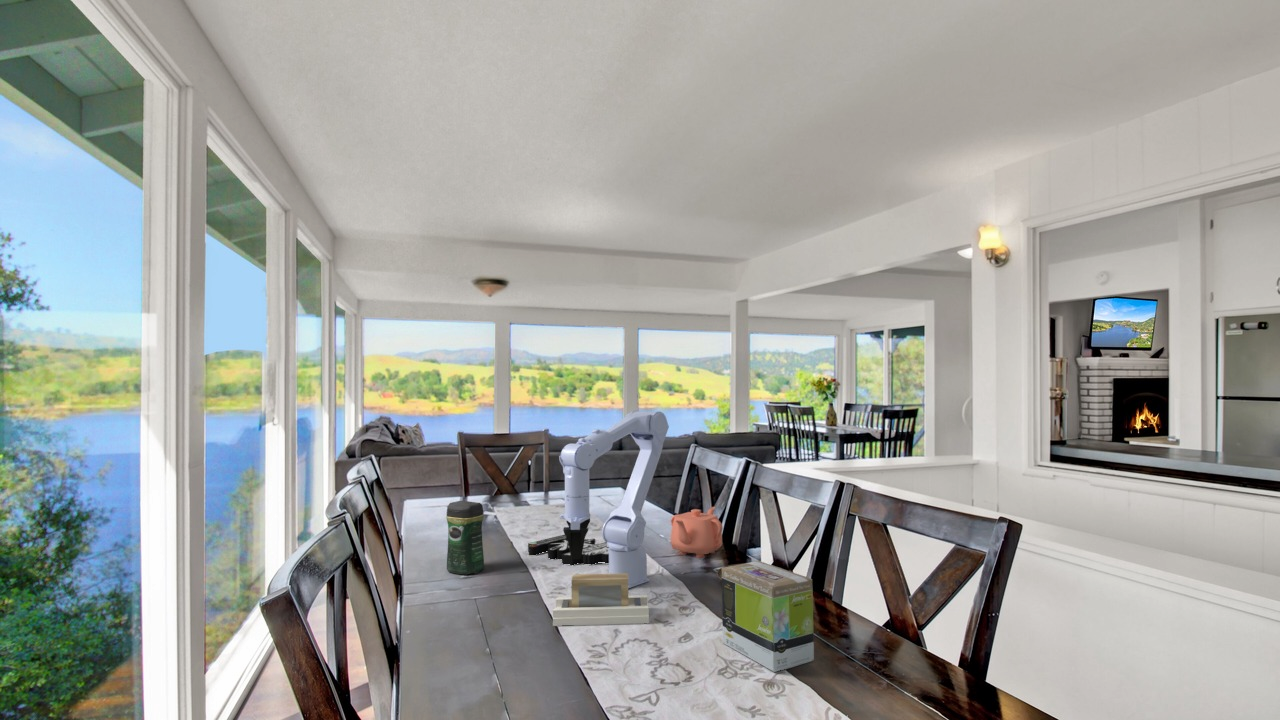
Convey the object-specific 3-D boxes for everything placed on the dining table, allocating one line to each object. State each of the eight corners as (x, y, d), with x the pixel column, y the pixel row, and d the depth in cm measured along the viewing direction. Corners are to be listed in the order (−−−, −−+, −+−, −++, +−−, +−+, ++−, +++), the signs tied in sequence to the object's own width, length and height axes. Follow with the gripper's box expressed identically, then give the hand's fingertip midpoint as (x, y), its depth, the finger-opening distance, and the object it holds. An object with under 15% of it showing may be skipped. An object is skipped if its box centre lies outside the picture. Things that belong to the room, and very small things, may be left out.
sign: (571, 532, 202) (641, 548, 182) (572, 542, 202) (641, 559, 182) (522, 544, 188) (592, 563, 168) (523, 554, 188) (592, 575, 168)
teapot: (715, 545, 195) (714, 503, 195) (729, 560, 178) (728, 514, 179) (667, 547, 193) (666, 505, 193) (676, 562, 176) (675, 516, 177)
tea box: (816, 661, 114) (814, 578, 115) (773, 674, 109) (771, 587, 110) (761, 632, 127) (759, 558, 128) (720, 643, 122) (719, 566, 123)
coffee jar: (489, 569, 173) (488, 500, 173) (468, 577, 166) (467, 505, 166) (462, 564, 177) (462, 497, 178) (441, 572, 170) (441, 502, 171)
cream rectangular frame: (647, 607, 142) (646, 594, 142) (649, 623, 133) (649, 608, 133) (556, 610, 141) (556, 596, 141) (552, 626, 132) (552, 611, 132)
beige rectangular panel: (573, 606, 139) (572, 574, 139) (628, 605, 139) (627, 573, 139) (571, 613, 135) (571, 580, 135) (628, 612, 135) (628, 579, 135)
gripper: (562, 490, 156) (562, 546, 155) (557, 501, 141) (557, 563, 141) (591, 490, 156) (591, 546, 155) (588, 500, 141) (589, 562, 141)
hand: (577, 554), depth 148 cm, fingers open, 7 cm apart
